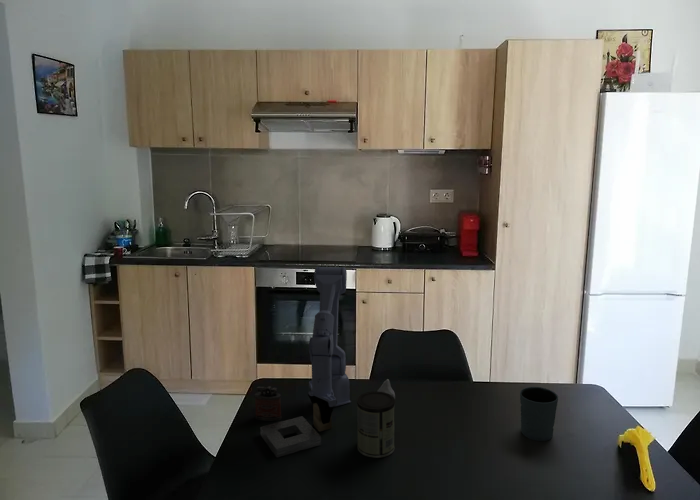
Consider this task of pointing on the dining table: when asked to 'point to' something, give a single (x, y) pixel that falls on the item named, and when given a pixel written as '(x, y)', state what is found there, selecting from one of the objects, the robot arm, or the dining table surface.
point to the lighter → (268, 404)
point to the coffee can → (376, 424)
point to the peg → (318, 421)
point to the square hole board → (286, 446)
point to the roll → (386, 388)
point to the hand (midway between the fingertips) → (322, 419)
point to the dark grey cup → (538, 412)
